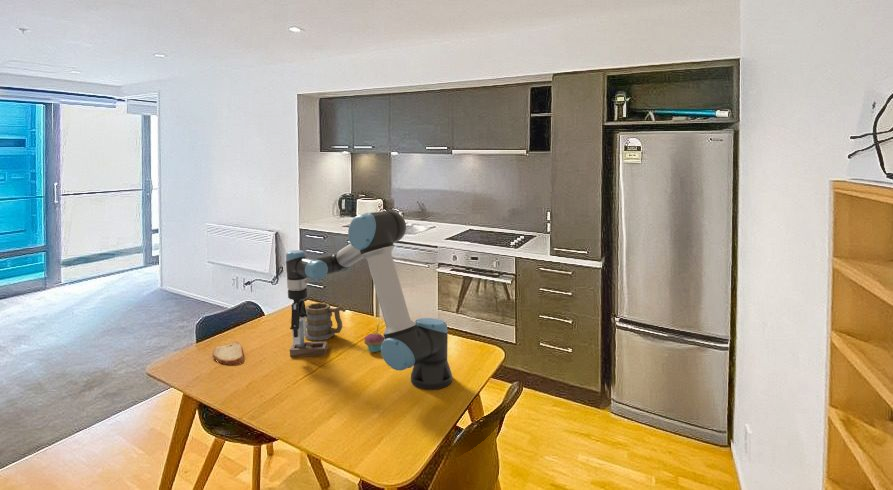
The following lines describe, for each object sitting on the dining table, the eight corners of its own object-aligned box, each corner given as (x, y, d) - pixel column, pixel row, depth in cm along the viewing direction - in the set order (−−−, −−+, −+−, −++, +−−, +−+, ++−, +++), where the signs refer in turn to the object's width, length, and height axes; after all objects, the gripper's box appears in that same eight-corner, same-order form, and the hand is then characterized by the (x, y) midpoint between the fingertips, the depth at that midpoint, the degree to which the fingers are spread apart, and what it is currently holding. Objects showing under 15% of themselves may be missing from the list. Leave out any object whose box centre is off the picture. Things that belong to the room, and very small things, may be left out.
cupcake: (386, 346, 214) (386, 320, 212) (382, 354, 206) (381, 326, 204) (367, 345, 215) (366, 319, 213) (361, 353, 207) (360, 326, 205)
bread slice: (238, 366, 195) (237, 357, 194) (197, 363, 198) (196, 354, 197) (263, 349, 212) (262, 341, 211) (225, 346, 215) (224, 338, 215)
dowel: (304, 354, 206) (302, 321, 204) (296, 354, 206) (294, 322, 203) (305, 350, 209) (303, 319, 207) (297, 351, 209) (295, 319, 206)
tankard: (299, 338, 223) (297, 306, 220) (314, 329, 235) (313, 298, 232) (339, 343, 217) (337, 310, 215) (352, 334, 229) (351, 302, 227)
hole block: (325, 355, 205) (324, 348, 204) (290, 356, 203) (289, 349, 203) (327, 348, 212) (327, 341, 212) (294, 349, 211) (293, 342, 211)
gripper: (301, 296, 191) (303, 349, 195) (311, 280, 215) (313, 327, 219) (280, 297, 190) (284, 349, 194) (293, 280, 214) (296, 327, 218)
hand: (299, 337), depth 206 cm, fingers open, 13 cm apart
